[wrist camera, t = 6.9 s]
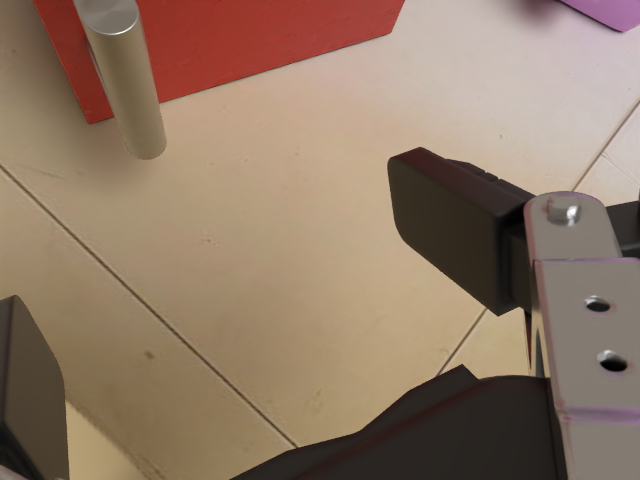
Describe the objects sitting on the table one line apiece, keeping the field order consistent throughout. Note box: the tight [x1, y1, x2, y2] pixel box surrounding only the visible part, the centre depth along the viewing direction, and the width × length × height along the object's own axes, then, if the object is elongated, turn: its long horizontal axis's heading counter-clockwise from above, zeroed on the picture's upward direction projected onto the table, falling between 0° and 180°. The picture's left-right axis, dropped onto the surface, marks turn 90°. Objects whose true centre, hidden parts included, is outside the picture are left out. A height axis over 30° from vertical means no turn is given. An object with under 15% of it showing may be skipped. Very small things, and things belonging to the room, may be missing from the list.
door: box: [33, 0, 405, 160], centre depth 23 cm, size 6×18×16 cm, turn 115°
